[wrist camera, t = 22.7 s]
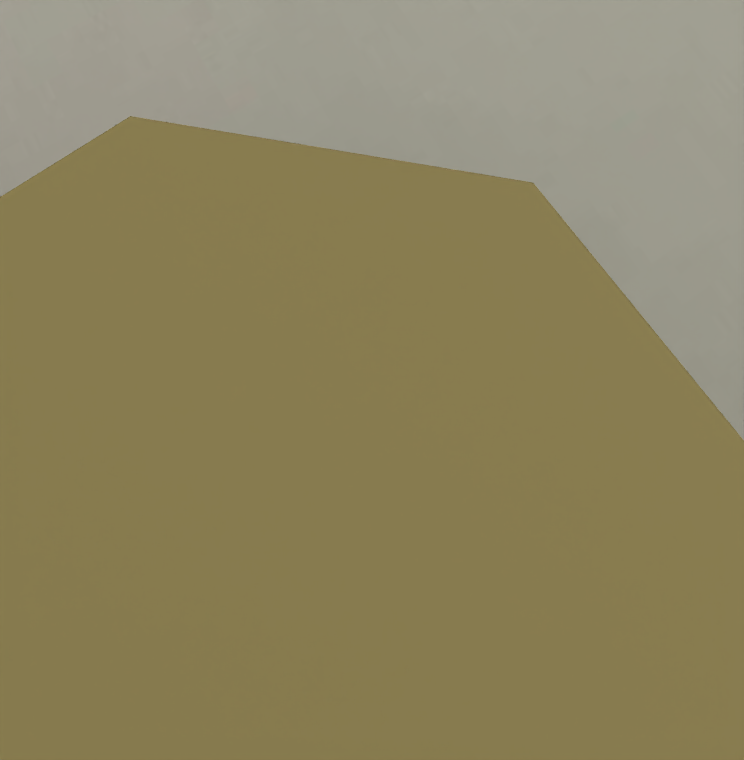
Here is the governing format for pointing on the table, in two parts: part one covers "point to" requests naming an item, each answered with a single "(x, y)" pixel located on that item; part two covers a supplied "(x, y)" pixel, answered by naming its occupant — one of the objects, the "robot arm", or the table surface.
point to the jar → (346, 472)
